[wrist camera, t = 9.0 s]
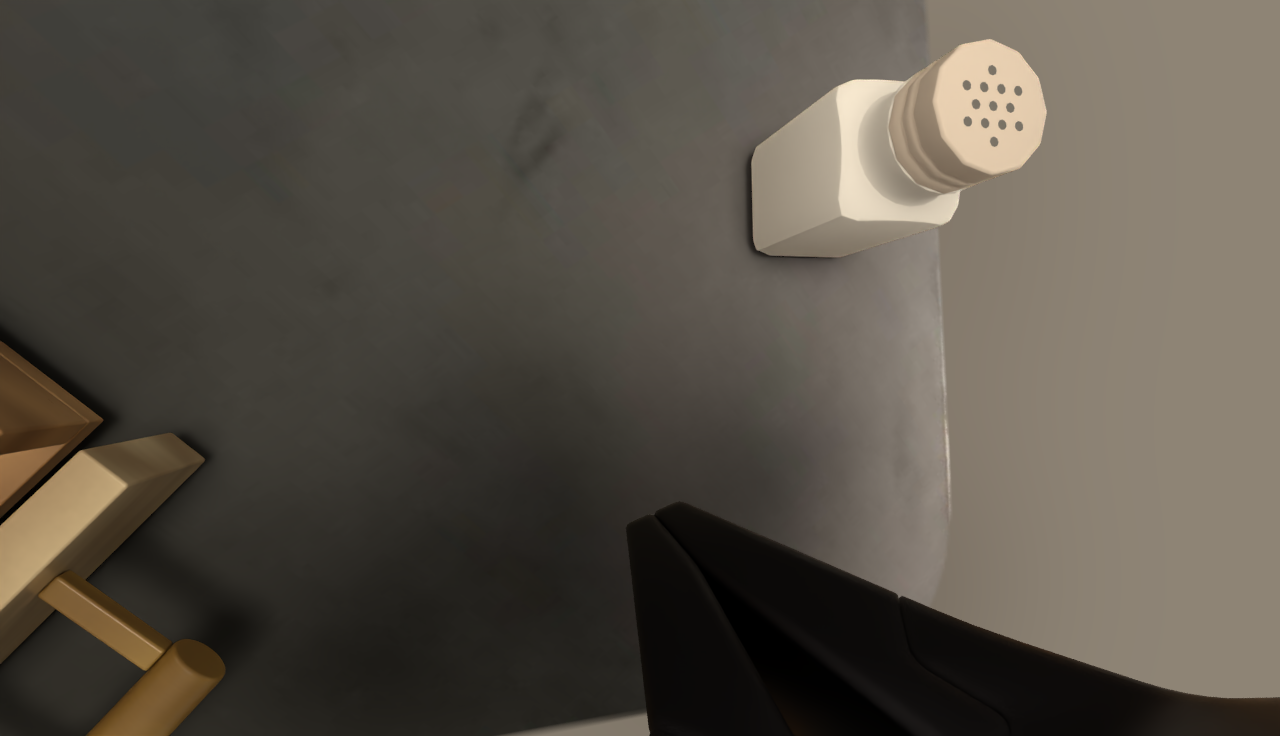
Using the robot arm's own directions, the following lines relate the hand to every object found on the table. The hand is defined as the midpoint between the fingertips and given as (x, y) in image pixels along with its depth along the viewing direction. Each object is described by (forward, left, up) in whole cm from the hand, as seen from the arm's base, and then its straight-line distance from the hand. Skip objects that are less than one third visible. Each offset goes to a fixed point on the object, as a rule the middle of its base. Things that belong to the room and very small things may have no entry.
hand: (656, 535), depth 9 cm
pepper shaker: (+8, -10, -14) cm, 19 cm away
